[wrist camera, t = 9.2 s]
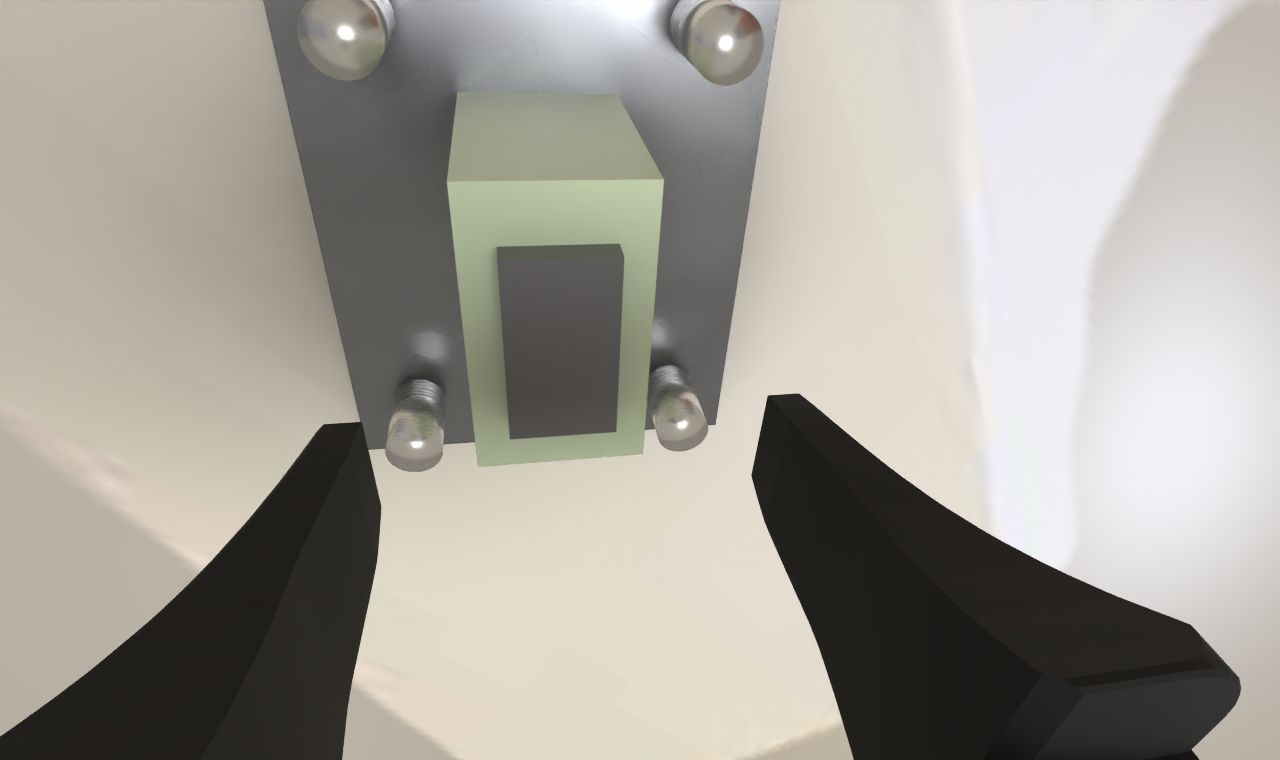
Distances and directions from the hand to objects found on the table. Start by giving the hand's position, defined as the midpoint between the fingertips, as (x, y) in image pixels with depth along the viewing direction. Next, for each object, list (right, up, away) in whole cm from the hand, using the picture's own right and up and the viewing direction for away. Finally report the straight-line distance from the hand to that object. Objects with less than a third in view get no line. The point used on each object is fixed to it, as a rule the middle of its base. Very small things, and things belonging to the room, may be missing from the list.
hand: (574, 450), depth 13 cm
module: (-2, +6, +7) cm, 9 cm away
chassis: (-2, +6, +8) cm, 10 cm away
